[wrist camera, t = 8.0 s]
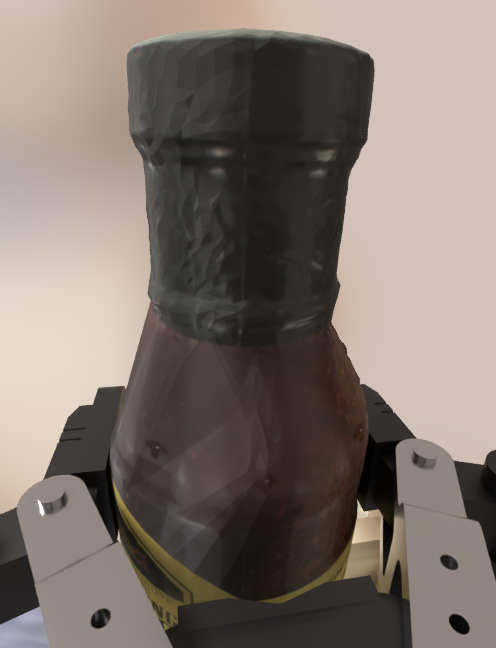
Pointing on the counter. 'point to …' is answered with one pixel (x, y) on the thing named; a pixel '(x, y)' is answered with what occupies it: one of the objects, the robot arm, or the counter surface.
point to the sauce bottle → (242, 319)
